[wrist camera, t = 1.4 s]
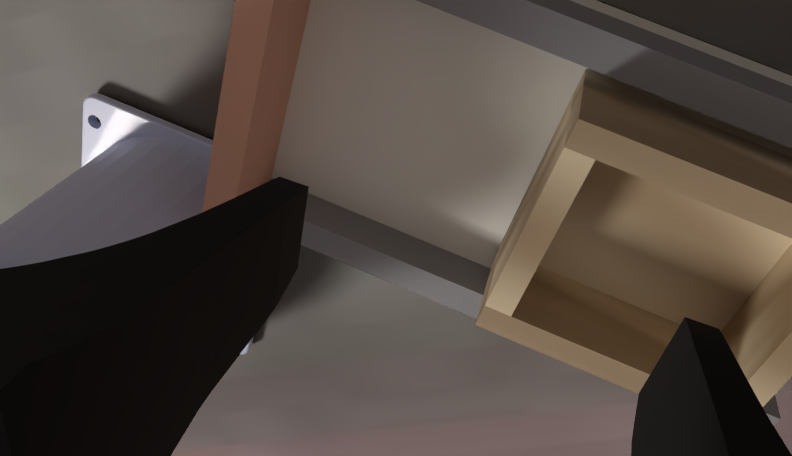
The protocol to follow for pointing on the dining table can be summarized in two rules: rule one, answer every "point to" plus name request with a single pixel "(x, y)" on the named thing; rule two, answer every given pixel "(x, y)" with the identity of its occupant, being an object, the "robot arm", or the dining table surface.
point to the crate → (648, 241)
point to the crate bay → (443, 118)
